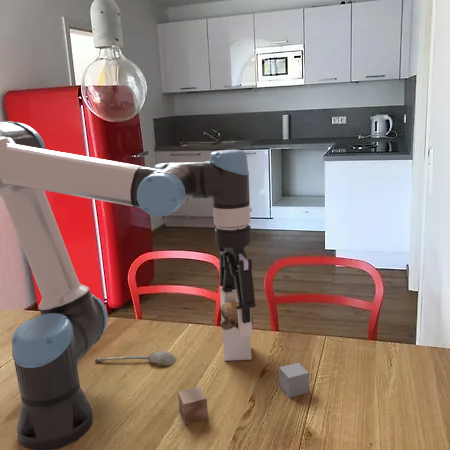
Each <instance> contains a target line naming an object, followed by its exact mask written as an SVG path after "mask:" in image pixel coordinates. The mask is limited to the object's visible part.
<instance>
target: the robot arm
mask: <svg viewBox="0 0 450 450" xmlns="http://www.w3.org/2000/svg"><path fill="white" fill-rule="evenodd" d="M209 156H210V157H209V159H208V160H207V161H194V162H193V161H191V162H189V161H188V162H173V161H171V162H166V163H164V162H163V163H157V164H155V165H154V166H153V167H148V166H142V165H137V164H131V163H127V162H126V163H125V162H119V161H115V160H108V159H102V158H96V157H92V156H86V155H85V156H84V155H80V154H74V153H69V152H61V151H56V150H50V149H46V146H45V142H44V140H43V138H42V137H41V135H40V134H39V132H37V131H36V130H35V129H34V128H33V127H32V126H30V125H27V124H25V123H23V122H22V123H21V122H17V121H16V122H15V121H8V120H4V121H0V197H1V198H2V200H3V202H4V205H5V207H6V210H7V212H8V215H9V217H10V219H11V220H10V221H11V222H12V225H13V227H14V230H15V232H16V234H17V237H18V239H19V242H20V245H21V247H22V251H23V252H24V255H25V258H26V260H27V262H28V265H29V267H30V269H31V273H32V275H33V278H34V281H35V283H36V285H37V288H38V290H39V292H40V295H41V300H40V303H39V304H38V310H39V311H40V315H36V316H35V317H34V318H30V319H28V320H26V321H23V322H22V323H21V324H20V325H18V327H17V328H16V329H15V330H14V332H13V334H12V338H11V355H12V358H13V361H14V366H15V371H16V372H15V373H16V379H17V382H18V390H19V394H20V399H21V400H20V401H21V404H20V408H19V409H20V410H19V414H18V419H17V425H16V432H17V437H18V441H19V443H20V445H22V446H23V447H24V448H26V449H29V450H56V449H58V448H59V449H60V448H63V447H65V446H67V445H70V444H72V443H74V442H75V441H77V440H78V439H80V438H82V437H83V436H84V435H86V434H87V432H88V431H89V430H90V428H91V426H92V425H93V424H94V423H93V422H94V415H93V408H92V405H91V403H90V401H89V400H88V398H87V396H86V395H85V393H84V391H83V389H82V387H81V384H80V377H79V369H78V364H79V362H80V361H81V360H82V359H83V358H84V356H86V354H87V353H88V352H89V350H91V348H92V347H93V346H94V345H96V344H97V343H98V342H99V340H100V339H101V337H102V336H103V334H104V332H105V330H106V328H107V326H108V311H107V307H106V306H105V304H104V303H103V301H102V300H101V299H100V298H99V297H96V296H95V295H94V294H92V293H91V291H90V288H89V286H86V285H84V284H82V283H80V281H79V278H78V276H77V273H76V270H75V268H74V265H73V262H72V259H71V257H70V255H69V252H68V249H67V246H66V244H65V241H64V239H63V236H62V234H61V230H60V228H59V225H58V223H57V221H56V217H55V216H54V215H55V214H54V212H53V210H52V208H51V204H50V202H49V199H48V197H47V194H46V191H47V192H51V193H52V192H53V193H57V194H63V195H68V196H74V197H80V198H85V199H90V200H97V201H102V202H105V203H106V202H107V203H111V204H118V205H122V206H123V205H124V206H128V207H135V208H139V209H141V210H142V211H144V212H145V213H146V214H147V215H150V216H152V217H157V218H160V217H166V216H168V215H172V214H173V213H175V212H176V211H178V210H179V209H180V208H181V207H182V205H183V204H184V203H186V202H187V201H189V200H196V199H197V200H198V199H212V211H213V212H212V213H213V224H214V226H216V227H215V228H214V236H215V238H214V239H215V245H217V246H218V253H219V286H220V287H222V290H223V292H225V293H224V304H225V303H227V302H229V301H236V302H237V298H236V292H237V297H238V302H239V306H237V307H236V309H237V310H238V328H239V336H240V337H244V336H249V335H250V336H252V335H253V324H252V320H251V314H252V308H255V307H256V298H255V290H254V289H255V288H254V279H253V272H252V271H253V265H252V264H253V261H252V259H251V258H248V259H247V253H246V252H245V248H246V246H249V245H250V244H251V243H252V228H251V225H250V223H251V213H252V211H253V209H252V207H251V206H250V203H251V201H250V176H249V175H250V171H249V166H248V165H249V164H248V156H247V154H246V152H245V151H244V150H241V149H223V150H215V151H212V152H210V155H209ZM232 290H236V291H232Z"/></svg>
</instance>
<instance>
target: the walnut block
mask: <svg viewBox="0 0 450 450" xmlns="http://www.w3.org/2000/svg"><path fill="white" fill-rule="evenodd" d="M177 397H178V407H179V413H180V416H181V418H182V421H183V423H184V425H185V426H189V425H191V424H195V423H199V422H202V421H207V420H209V413H208V412H209V411H208V410H209V409H208V399H207V397H206V395H205V393H204V391H203V389H202V387H201V386H196V387H192V388H188V389H183V390H180V391H178V392H177Z"/></svg>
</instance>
